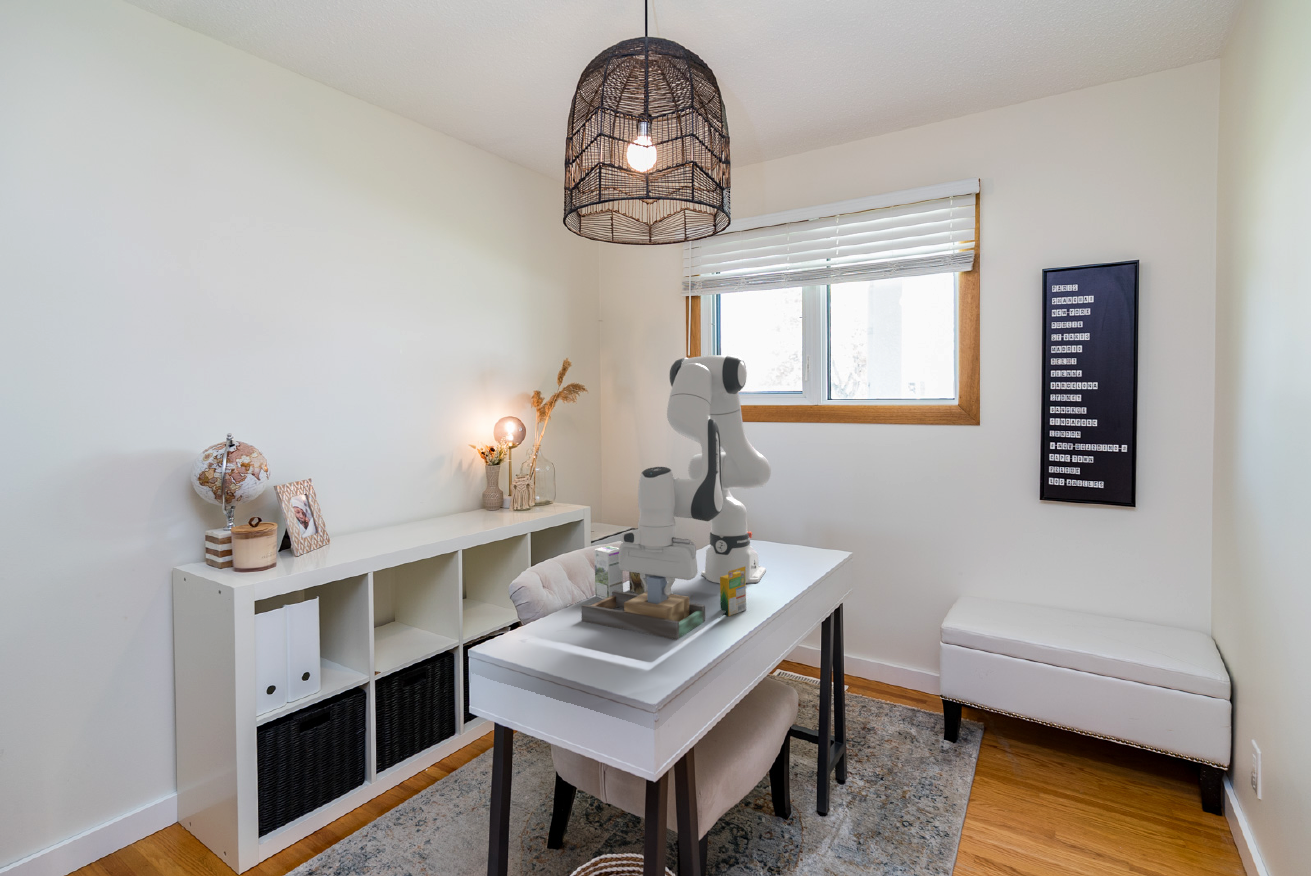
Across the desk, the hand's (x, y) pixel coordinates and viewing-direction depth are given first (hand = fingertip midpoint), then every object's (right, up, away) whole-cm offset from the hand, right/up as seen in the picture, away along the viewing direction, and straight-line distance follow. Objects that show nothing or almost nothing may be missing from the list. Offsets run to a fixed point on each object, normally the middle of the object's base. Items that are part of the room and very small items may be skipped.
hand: (657, 593), depth 153 cm
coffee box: (-3, -8, +27) cm, 28 cm away
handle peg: (0, -6, 0) cm, 6 cm away
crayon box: (+20, -8, +12) cm, 24 cm away
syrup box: (-13, -8, +23) cm, 28 cm away
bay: (-4, -9, +3) cm, 10 cm away
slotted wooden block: (0, -7, 0) cm, 7 cm away
